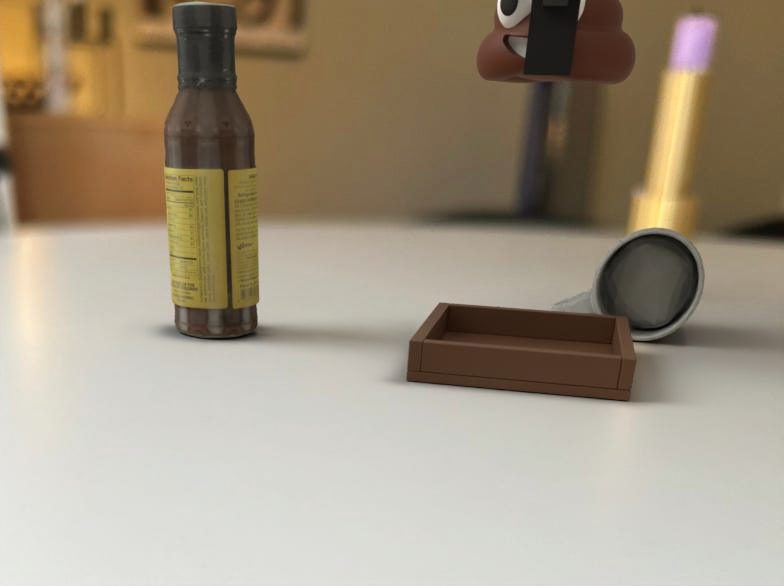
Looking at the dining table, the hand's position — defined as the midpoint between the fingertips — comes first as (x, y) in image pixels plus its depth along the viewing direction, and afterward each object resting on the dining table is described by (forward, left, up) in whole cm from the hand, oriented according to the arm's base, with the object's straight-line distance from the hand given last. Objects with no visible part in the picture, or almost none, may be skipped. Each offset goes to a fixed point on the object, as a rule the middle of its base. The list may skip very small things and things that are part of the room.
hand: (550, 77), depth 63 cm
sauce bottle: (+21, +4, -17) cm, 27 cm away
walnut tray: (-1, +7, -17) cm, 18 cm away
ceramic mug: (-8, -8, -17) cm, 20 cm away
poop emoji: (0, 0, 0) cm, 0 cm away
